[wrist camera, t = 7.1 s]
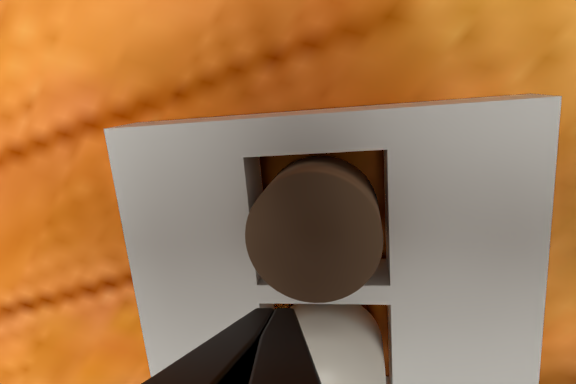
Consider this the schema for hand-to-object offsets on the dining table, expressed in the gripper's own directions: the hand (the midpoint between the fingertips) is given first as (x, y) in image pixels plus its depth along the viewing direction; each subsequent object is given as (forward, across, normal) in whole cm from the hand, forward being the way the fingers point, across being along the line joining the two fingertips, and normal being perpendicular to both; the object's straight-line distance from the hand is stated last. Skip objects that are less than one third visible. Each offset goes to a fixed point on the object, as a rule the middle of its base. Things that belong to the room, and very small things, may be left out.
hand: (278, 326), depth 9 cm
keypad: (+9, 0, +6) cm, 11 cm away
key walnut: (+8, 0, 0) cm, 8 cm away
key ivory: (+8, 0, +6) cm, 10 cm away
